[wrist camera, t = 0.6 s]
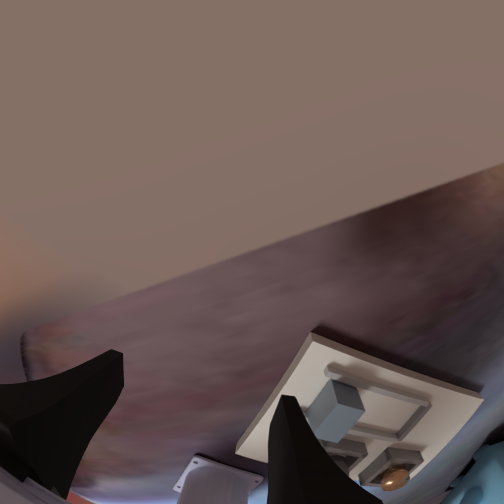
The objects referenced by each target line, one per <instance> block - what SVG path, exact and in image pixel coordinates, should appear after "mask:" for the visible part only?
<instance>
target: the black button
mask: <svg viewBox="0 0 504 504" xmlns="http://www.w3.org/2000/svg"><path fill="white" fill-rule="evenodd" d="M330 457H331V458H332V460H333V461H334V462H335V463H336V464H337V465H338V466H339V468H340V469H342V470H343V471H344V472H345V473H346V474H347V475H348V476H349V469H348V465H347V460H346V458H345V457H343V456H339V455H332V456H330Z"/></svg>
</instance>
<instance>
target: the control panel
mask: <svg viewBox="0 0 504 504" xmlns="http://www.w3.org/2000/svg"><path fill="white" fill-rule="evenodd" d="M330 379H333V380H336V381H339V382H342V383H345V384H348V385H351V386H354V387H357V390H358V393H359V395H360V398H361V400H362V403H363V406H364V408H365V413H364V414H363V415H362V416H361V417H360V419H359V420H358V421H357V422H356V423H355V424H354V426H353V427H352V428H351V429H350V430H349V431H348V432H347V433H346V435H345V436H344V437H343V438H342V439H341V440H340V441H339V442H338V443H335V442H330V441H326V440H322V439H318V438H317V439H318V441H319V442H320V444H321V445H322V447H323V448H324V449H325V451H326V452H327V453H328V455H329V456H332V455H339V456H343V457H345V458H346V460H347V465H348V469H349V477H350V478H351V479H352V480H359V481H360V486H371V487H382V486H381V483H380V480H379V476H380V474H381V473H382V472H383V471H384V470H386V469H387V468H389V467H392V466H394V465H399V464H403V465H405V466H406V468H407V471H408V473H409V476H410V479H411V478H412V477H413V476H415V475H416V474H417V473H418V472H419V471H420V470H421V469H422V468H423V467H424V466H426V465H427V464H428V463H429V462H430V461H431V460H432V459H433V458H434V457H435V456H436V455H437V454H438V453H439V452H440V451H441V450H442V449H443V448H444V447H445V446H446V445H447V444H448V442H449V441H450V440H451V439H452V438H453V437H454V436H455V435H456V434H457V433H458V431H459V430H460V429H461V428H462V427H463V426H464V425H465V423H466V422H467V421H468V420H469V419H470V417H471V416H472V415H473V414H474V412H475V411H476V410H477V409H478V407H479V406H480V405H481V403H482V402H483V401H484V399H483V398H482V397H481V396H480V394H479V393H478V392H475V391H471V390H468V389H465V388H462V387H459V386H456V385H453V384H449V383H446V382H443V381H440V380H437V379H434V378H432V377H429V376H426V375H423V374H420V373H417V372H414V371H411V370H409V369H406V368H403V367H400V366H397V365H395V364H392V363H389V362H386V361H384V360H381V359H378V358H376V357H373V356H370V355H368V354H365V353H363V352H360V351H357V350H355V349H352V348H350V347H347V346H345V345H342V344H340V343H337V342H334V341H332V340H330V339H327V338H325V337H322V336H320V335H317V334H315V333H312V332H310V333H309V335H308V337H307V338H306V340H305V342H304V343H303V345H302V347H301V348H300V350H299V352H298V353H297V355H296V356H295V358H294V360H293V361H292V363H291V364H290V366H289V368H288V369H287V371H286V372H285V374H284V375H283V377H282V379H281V380H280V382H279V383H278V385H277V386H276V388H275V389H274V391H273V392H272V394H271V395H270V397H269V398H268V400H267V401H266V403H265V404H264V406H263V407H262V408H261V410H260V411H259V413H258V414H257V416H256V417H255V418H254V420H253V421H252V423H251V424H250V426H249V427H248V428H247V430H246V431H245V432H244V434H243V435H242V437H241V438H240V439H239V441H238V442H237V445H236V451H235V454H238V455H241V456H244V457H247V458H251V459H254V460H258V461H261V462H265V463H268V436H269V427H270V422H271V420H272V417H273V415H274V412H275V410H276V407H277V405H278V402H279V399H280V397H281V394H283V395H290V396H295V397H296V398H297V401H298V403H299V405H300V407H301V410H302V412H303V414H304V416H305V418H306V420H307V422H308V414H307V411H308V409H309V408H310V407H311V405H312V404H313V403H314V401H315V400H316V399H317V397H318V396H319V395H320V393H321V392H322V391H323V389H324V388H325V386H326V385H327V384H328V382H329V381H330ZM308 424H309V422H308Z"/></svg>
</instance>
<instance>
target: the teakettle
mask: <svg viewBox="0 0 504 504" xmlns="http://www.w3.org/2000/svg"><path fill="white" fill-rule="evenodd" d="M473 459H474V460H475V461H476V462H475V464H474V465H473V466H472V468H471V469H470V470H469V471H468V472H467V474H466V475H462V476H460V477H458V478H456V479H455V480H454V481H452V482H451V484H450V485H449V486H450V487H453V488H454V489H453V490H452V491H451V492H450V493H449V494H448V495H447V496H446V497H445V499H444V500H443V501H442V502H441V503H440V504H504V441H501V442H498V443H496V444H493V445H490V446H489V445H488V444H486V445H484V446H482V447H481V448H479V449H478V450H477V451H476V452H475V453H474V455H473Z"/></svg>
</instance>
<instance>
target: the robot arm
mask: <svg viewBox="0 0 504 504" xmlns="http://www.w3.org/2000/svg"><path fill="white" fill-rule="evenodd" d="M123 387H124V371H123V353H121V352H118V351H115V350H112V349H111V350H109V351H107V352H105V353H103V354H101V355H99V356H97V357H95V358H93V359H91V360H89V361H87V362H85V363H83V364H81V365H79V366H77V367H74V368H72V369H69V370H67V371H65V372H62V373H60V374H57V375H54V376H51V377H47V378H44V379H40V380H35V381H30V382H24V383H16V384H0V504H72V503H70V502H68V501H66V498H67V496H68V492H69V489H70V486H71V483H72V481H73V478H74V475H75V473H76V470H77V468H78V466H79V463H80V461H81V459H82V457H83V454H84V452H85V450H86V448H87V446H88V444H89V442H90V440H91V439H92V437H93V435H94V434H95V432H96V431H97V429H98V428H99V426H100V425H101V423H102V422H103V421H104V419H105V418H106V416H107V415H108V413H109V412H110V410H111V409H112V408H113V406H114V405H115V403H116V401H117V399H118V397H119V395H120V393H121V391H122V389H123ZM263 479H264V477H263V476H261V475H258V474H254V473H250V472H247V471H243V470H240V469H237V468H233V467H230V466H227V465H224V464H221V463H218V462H215V461H212V460H209V459H207V458H204V457H201V456H198V455H195V456H193V458H192V459H191V461H190V462H189V464H188V465H187V467H186V469H185V470H184V472H183V473H182V475H181V476H180V478H179V479H178V481H177V482H176V484H175V485H174V487H173V490H175V491H177V492H179V493H180V495H179V498H178V501H177V504H248V494H249V493H250V492H251V491H252V490H254V489H255V488H256V487H257V486H258V485H259V484H260V483H261V482H262V481H263ZM267 504H383V502H382V500H380V499H379V498H377V497H375V496H374V495H372V494H371V493H369V492H368V491H366V490H365V489H363V488H362V487H361V486H359V485H358V484H357V483H356V482H354V481H353V480H352V479H351V478H350V477H349V476H348V475H347V474H346V473H345V472H344V471H343V470H342V469H340V468H339V466H338V465H337V464H336V463H335V462H334V461H333V460H332V458H331V457H330V456H329V455H328V453H327V452H326V451H325V449H324V448H323V447H322V445H321V444H320V442H319V441H318V439H317V437H316V436H315V434H314V432H313V431H312V429H311V427H310V425H309V424H308V422H307V420H306V418H305V416H304V414H303V412H302V410H301V407H300V405H299V403H298V401H297V398H296V397H295V396H290V395H283V394H281V397H280V399H279V402H278V405H277V407H276V410H275V412H274V415H273V417H272V420H271V422H270V427H269V436H268V496H267Z"/></svg>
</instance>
